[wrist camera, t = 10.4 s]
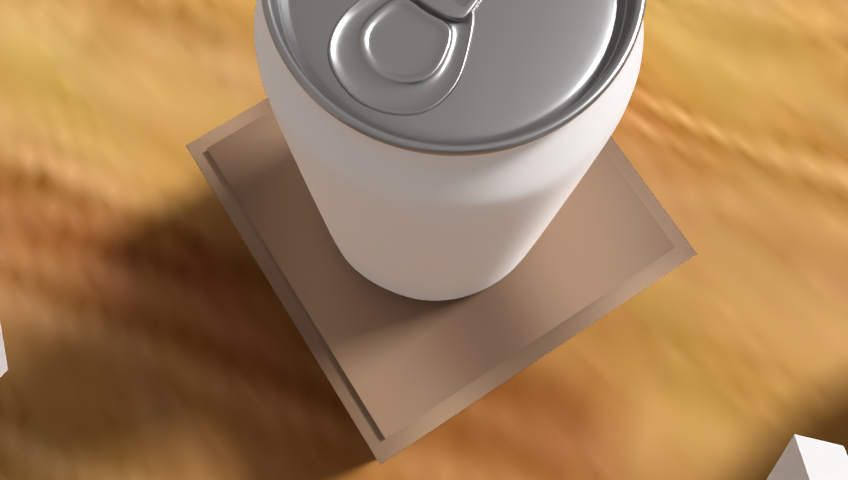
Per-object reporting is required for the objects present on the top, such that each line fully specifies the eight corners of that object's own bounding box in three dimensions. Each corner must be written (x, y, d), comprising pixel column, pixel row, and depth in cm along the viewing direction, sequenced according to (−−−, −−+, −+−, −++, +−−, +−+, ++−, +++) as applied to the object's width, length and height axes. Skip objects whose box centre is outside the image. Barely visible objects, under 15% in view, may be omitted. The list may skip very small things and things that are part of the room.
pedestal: (476, 42, 30) (489, -35, 25) (647, 281, 28) (699, 252, 23) (225, 191, 28) (183, 143, 23) (386, 454, 26) (379, 465, 21)
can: (279, 223, 23) (135, 21, 11) (404, 54, 24) (395, -292, 12) (465, 348, 22) (523, 276, 10) (584, 167, 23) (758, -84, 11)
